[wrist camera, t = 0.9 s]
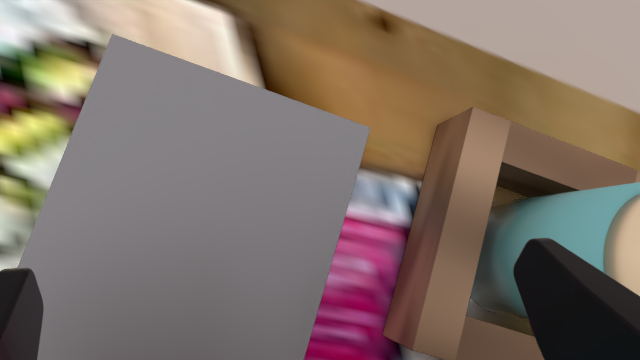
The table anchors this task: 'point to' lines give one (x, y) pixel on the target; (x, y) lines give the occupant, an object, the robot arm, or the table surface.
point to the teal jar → (560, 239)
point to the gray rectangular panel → (189, 216)
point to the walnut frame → (477, 229)
